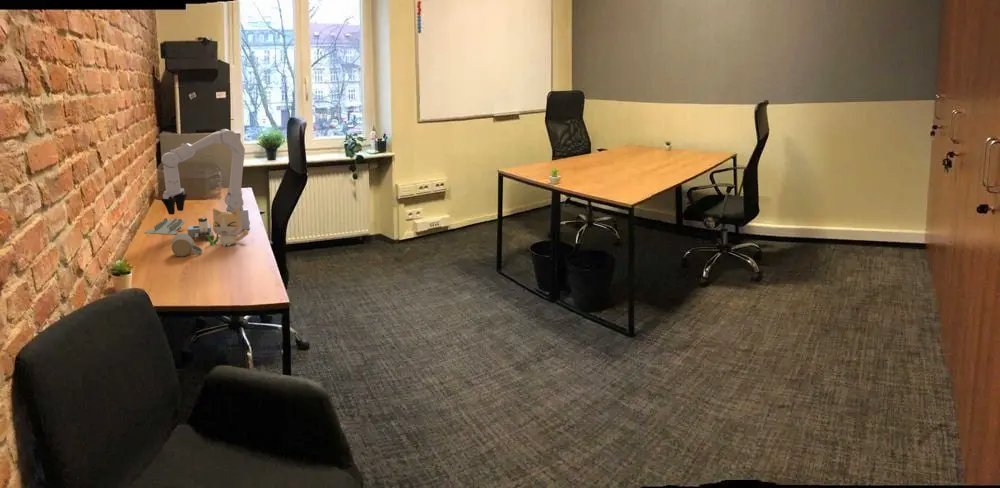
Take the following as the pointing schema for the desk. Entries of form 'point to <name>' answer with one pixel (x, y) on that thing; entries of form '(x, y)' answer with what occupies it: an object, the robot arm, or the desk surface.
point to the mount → (203, 237)
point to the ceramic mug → (184, 245)
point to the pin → (203, 226)
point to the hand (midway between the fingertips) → (176, 212)
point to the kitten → (227, 227)
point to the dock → (196, 229)
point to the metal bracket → (167, 227)
